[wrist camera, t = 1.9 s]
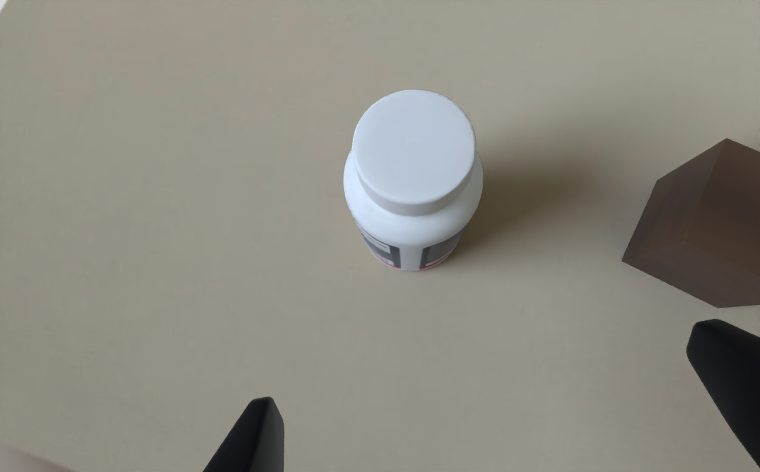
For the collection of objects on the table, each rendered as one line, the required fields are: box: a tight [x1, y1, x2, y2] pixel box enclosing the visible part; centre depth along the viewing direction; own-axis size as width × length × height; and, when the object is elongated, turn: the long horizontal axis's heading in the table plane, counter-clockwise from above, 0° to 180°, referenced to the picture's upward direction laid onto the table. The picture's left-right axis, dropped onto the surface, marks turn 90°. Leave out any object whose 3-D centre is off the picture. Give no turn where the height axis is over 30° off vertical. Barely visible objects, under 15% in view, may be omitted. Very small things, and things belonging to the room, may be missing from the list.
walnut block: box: [622, 138, 760, 308], centre depth 19 cm, size 5×5×5 cm
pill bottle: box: [344, 89, 483, 271], centre depth 18 cm, size 5×5×10 cm
